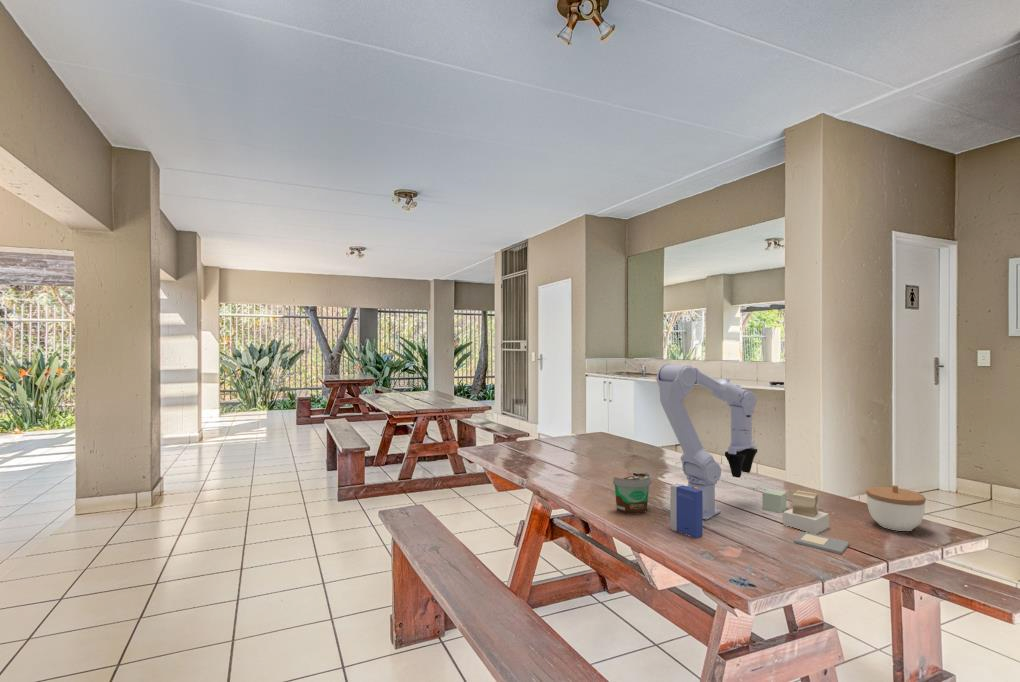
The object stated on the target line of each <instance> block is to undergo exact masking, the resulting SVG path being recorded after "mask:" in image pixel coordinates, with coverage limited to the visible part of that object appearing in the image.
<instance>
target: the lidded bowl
mask: <svg viewBox="0 0 1020 682" xmlns="http://www.w3.org/2000/svg"><path fill="white" fill-rule="evenodd" d="M865 491H866V504H867V508H868V512H869V514H870V516H871V517H872V519H873V521H875V522H876V523H877V524H878V526H879V525H880V526H882V527H884V528H888V529H894V530H899V531H911V532H913V530H914V529H915V528H917V527H918V526H919V525H920V524H921V523H922V521H923V519H924V516H925V511H926V510H925V509H926V508H925V507H926V506H925V505H926V497H925V495H924V494H922V493H919V492H917V491H913V490H908V489H905V488H900V487H899V485H894V484H892V485H891V486H870V487H867V488H866V490H865ZM880 526H879V527H880ZM882 527H881V528H882ZM884 528H883V529H884Z"/></svg>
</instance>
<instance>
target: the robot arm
mask: <svg viewBox="0 0 1020 682" xmlns="http://www.w3.org/2000/svg"><path fill="white" fill-rule="evenodd" d="M655 380H656V383H657V384H658V387H659V399H660V404H661V406H662V409H663V410H664V413H665V414H666V417H667V419H668V421H669V424H670V426H671V428H672V430H673V432H674V435H675V437H676V439H677V441H678V443H679V446H680V448H681V449H682V452H683V453H682V454H681V456H680V461H681V463H682V465H681V466H682V472H683V474H684V475H685V476H686V480H688V481H687V483H688V484H687V486H688V487H692V488H693V487H696V488H699V490H702V520H706V521H707V520H709V519H711V518H713V517H715V516H716V515H718V514H719V513H721V510H720V509H718V508H716V485H717V482H718V481H719V480H720V479H721V475H722V467H721V465H720V464H719V462H717V461H716V460H715V459H714V457H713V455H712V454H710V452H709V451H707V450H706V449H705V448H704V447H703V444H702V442H701V440H700V438H699V435H698V433H697V431H696V429H695V427H694V425H693V422H692V420H691V418H690V416H689V413H688V411H687V409H686V406H685V404H684V402H683V401H684V399H686V398H687V396H688V395H689V393H690V391H691V390H692V389H693V387H694V386H695V385H697V386H699V387H702V388H704V389H707V390H710V391H711V395H712V396H713V397H715V398H717V399H718V400H720V401H723V402H725V403H726V404H727V406H728V407H730V443H729V446H728V448H727V449H728V450H727V451H724V456H725V459H727V463H728V464H729V465H728V466H729V469H730V473H731V476H732V477H733V478H739V479H740V478H741V476H742V473H748V474H750V473H751V471H752V467H753V462H754V458H755V457H756V455H757V453H758V449H757V445H755V444H754V440H753V437H752V436H753V433H752V431H753V430H752V429H753V427H752V426H753V425H752V424H753V423H752V422H753V417H752V416H753V414H754V408H755V407H756V405H757V400H758V399H757V398H756V395H755V393H753V391H751V390H750V389H744V388H742V387H741V385H739V384H734V383H732V382H730V379H729V378H720V379H719V378H718V379H715V378H713V377H712V376H709V375H708V374H706V373H705V372H703V371H701V370H699V368H696V367H693V366H692V365H686V364H685V365H680V364H679V365H676V364H669V363H664V364H663V365H661V366H660V367H659V369H658V371H657V374H656V377H655Z"/></svg>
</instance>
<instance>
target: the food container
mask: <svg viewBox="0 0 1020 682" xmlns="http://www.w3.org/2000/svg"><path fill="white" fill-rule="evenodd" d="M652 482H653V481H652V478H651V475H650V474H649V473H647V472H645V474H644V475H640V476H632V475H631V476H626V477H624V478H620V477H616V476H614V477H613V480H612V485H614V490H615V491H614V492H615V502H616V503H615V504H616V505H615V506H616V511H618V512H619V511H620V512H619V513H623V514H628V513H630V515H637V514H636V513H641V514H644V513H646V512H647V511H648V503H649V501H648V500H649V491H650V490H649V489H650V486H651V485H652ZM645 511H646V512H645ZM643 512H644V513H643Z"/></svg>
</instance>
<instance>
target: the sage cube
mask: <svg viewBox="0 0 1020 682" xmlns="http://www.w3.org/2000/svg"><path fill="white" fill-rule="evenodd" d="M785 509H787V492H786V491H782V490H776V489H773V488H772V489H771V488H767V489H766V490H764V491H763V492H762V510H764V511H769V512H770V511H771V512H775V513H779V512H782V511H783V512H785V511H786V510H785ZM783 512H782V513H783Z"/></svg>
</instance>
